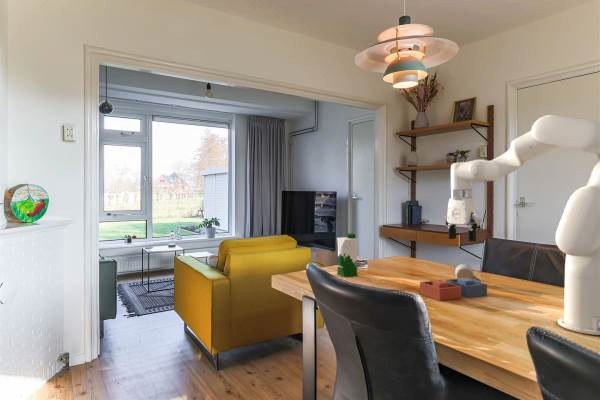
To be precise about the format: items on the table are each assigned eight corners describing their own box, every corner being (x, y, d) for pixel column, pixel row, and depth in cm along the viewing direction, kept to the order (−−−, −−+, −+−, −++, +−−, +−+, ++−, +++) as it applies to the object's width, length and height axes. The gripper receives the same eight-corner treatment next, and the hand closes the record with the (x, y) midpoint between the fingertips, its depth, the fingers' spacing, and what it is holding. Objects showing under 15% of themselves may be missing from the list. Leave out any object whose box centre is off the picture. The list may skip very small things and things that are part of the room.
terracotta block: (448, 295, 141) (448, 282, 141) (439, 296, 139) (439, 283, 139) (440, 292, 145) (440, 280, 145) (431, 293, 143) (431, 280, 143)
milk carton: (359, 275, 176) (360, 234, 176) (343, 277, 172) (344, 235, 172) (349, 272, 184) (350, 232, 184) (334, 273, 180) (334, 233, 180)
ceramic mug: (455, 283, 163) (456, 266, 162) (454, 279, 170) (455, 263, 170) (481, 286, 159) (482, 268, 159) (480, 282, 166) (480, 265, 166)
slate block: (474, 292, 145) (474, 280, 145) (465, 293, 144) (465, 280, 144) (465, 289, 149) (465, 277, 149) (457, 290, 148) (457, 278, 148)
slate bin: (487, 295, 143) (487, 284, 143) (466, 297, 139) (467, 286, 139) (464, 288, 153) (465, 278, 153) (445, 290, 150) (445, 279, 150)
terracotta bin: (461, 298, 138) (461, 286, 138) (439, 300, 135) (440, 288, 135) (440, 291, 149) (440, 280, 149) (419, 293, 145) (420, 281, 145)
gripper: (437, 195, 145) (437, 238, 145) (472, 194, 129) (472, 242, 129) (452, 195, 148) (452, 237, 148) (488, 194, 132) (488, 241, 132)
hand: (461, 239), depth 138 cm, fingers open, 9 cm apart
